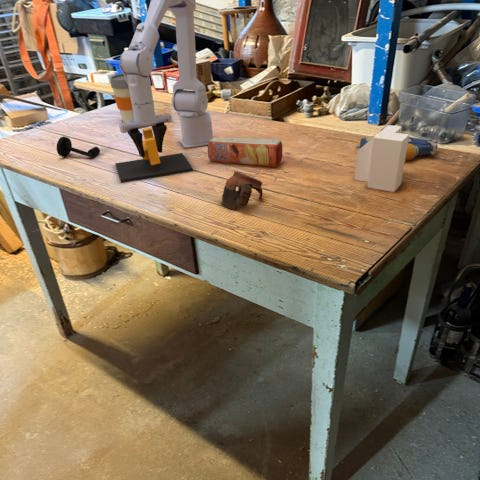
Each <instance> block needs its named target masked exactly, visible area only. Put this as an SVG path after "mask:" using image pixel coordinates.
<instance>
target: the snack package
mask: <svg viewBox="0 0 480 480" xmlns="http://www.w3.org/2000/svg"><path fill="white" fill-rule="evenodd" d="M207 157H208V159H209V161H211V162H224V163H231V164H244V165H253V166H254V165H255V166H265V167H272V168H276V167H278V166H279V165H280V164H281V163H282V160H283V142H282V140H280V139H268V138H267V139H265V138H245V137H244V138H243V137H240V138H239V137H219V136H218V137H217V136H213V138H212V139H211V140H210V141H209V142H208V145H207Z"/></svg>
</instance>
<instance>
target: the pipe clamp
mask: <svg viewBox="0 0 480 480" xmlns="http://www.w3.org/2000/svg"><path fill="white" fill-rule="evenodd" d="M141 130H142V131H141V132H142V136H143V148H144V153H145V157H142V159H143V160H146V159H150V162H151V165H155V164H159V163H160V159H159V156H160V154H159V152H158V150H157V146H156V141H155V137H154V133H153V130H152V127H146V128H141Z"/></svg>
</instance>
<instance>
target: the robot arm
mask: <svg viewBox="0 0 480 480" xmlns="http://www.w3.org/2000/svg"><path fill="white" fill-rule="evenodd" d="M196 3H197V1H196V0H150V2H149V6H148V9H147V13H146V16H145V19H144V21H143V22H140V23H139V24H137V26H136V28H135V32H134V34H133V37H132V39H131V42H130V44H129V46H128V49H126V50H124V51H123V52H122V53H121V55H120V57H119V65H118V66H119V69H120V72H121V74H124V77H125V81H126V83H128V87H129V92H130V98H131V103H132V109H133V114H134V120H131V121H128V122H126V123H124V122H122V123H119V124H118V128H119V132H120V133H121V134H127V135H128V136H129V137H130V138H131V140H132V142H133V144H134V146H135V147H136V150H137V153H138V155H139V157H141V158H143V157H145V153H144V148H143V141H144V139H143V132H141V131H140V130H142V129H146V128H151V129H152V133H153V137H154V138H155V141H156V146H157V150H158V154H159V153H160V154H161V153H163V146H164V139H165V135H166V132H167V130H168V128H167V127H168V126H167V125H166V124H170V123H171V124H172V123H173V121H172V120H173V119H172V115H171V114H169V113H164V114H156V109H155V103H154V102H155V101H154V96H153V90H152V84H151V78H150V75H151V73H152V72H153V68H154V63H153V62H154V61H153V60H154V52H155V50H156V47H157V44H158V41H159V39H160V34H159V32H158V29H159V27H160V25H161V23H162V21H163V20H164V17H165V15H166V13H167V11H170V12H171V13H172V15H173V16H174V19H175V20H174V21H175V36H176V51H177V52H176V53H177V67H178V80H177V81H176V82H174V84H173V85H172V96H171V105H172V108H173V110H174V111H175V112H176V114H177V116H179V123H180V129H181V130H180V131H181V137H182V138H181V139H179V142H180V143H181V145H182V146H183V148H184V149H190V148H195V147H203V146H208V142H209V141H210V140H211V139H212V138H213V137H214V134H213V122H212V117H211V114H210V112H209V111H207V109H208V106H209V99H208V95H207V90H206V86H205V84H204V83H203V82H202V81H200V80H199V79H198V77H197V75H198V74H197V57H196V56H197V54H196V33H195V10H196V9H197V6H196V5H197V4H196Z"/></svg>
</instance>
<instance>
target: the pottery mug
mask: <svg viewBox="0 0 480 480" xmlns="http://www.w3.org/2000/svg"><path fill="white" fill-rule="evenodd" d="M224 184H225V185H224V187H223V193H222V195H221V205H222V206H224V207H226V208H228V209H231V210H233V211H234V210H236V205H237V206H239V208H244V207H247V206H248V204H249V200H250V198H251V195H252V194H253V190H255V191H256V192H257V193H258V194H259V195H258V196H259V197H258V200H259V201H262V199H263V188H262V185H263V181H262V180H260V179H257V178H255V177H252V176H249V175H247V174H245V173H242V172H240V171H236V170H234V171H233V175H232V176H229V178H228V179H227V180H226V182H225V183H224Z"/></svg>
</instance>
